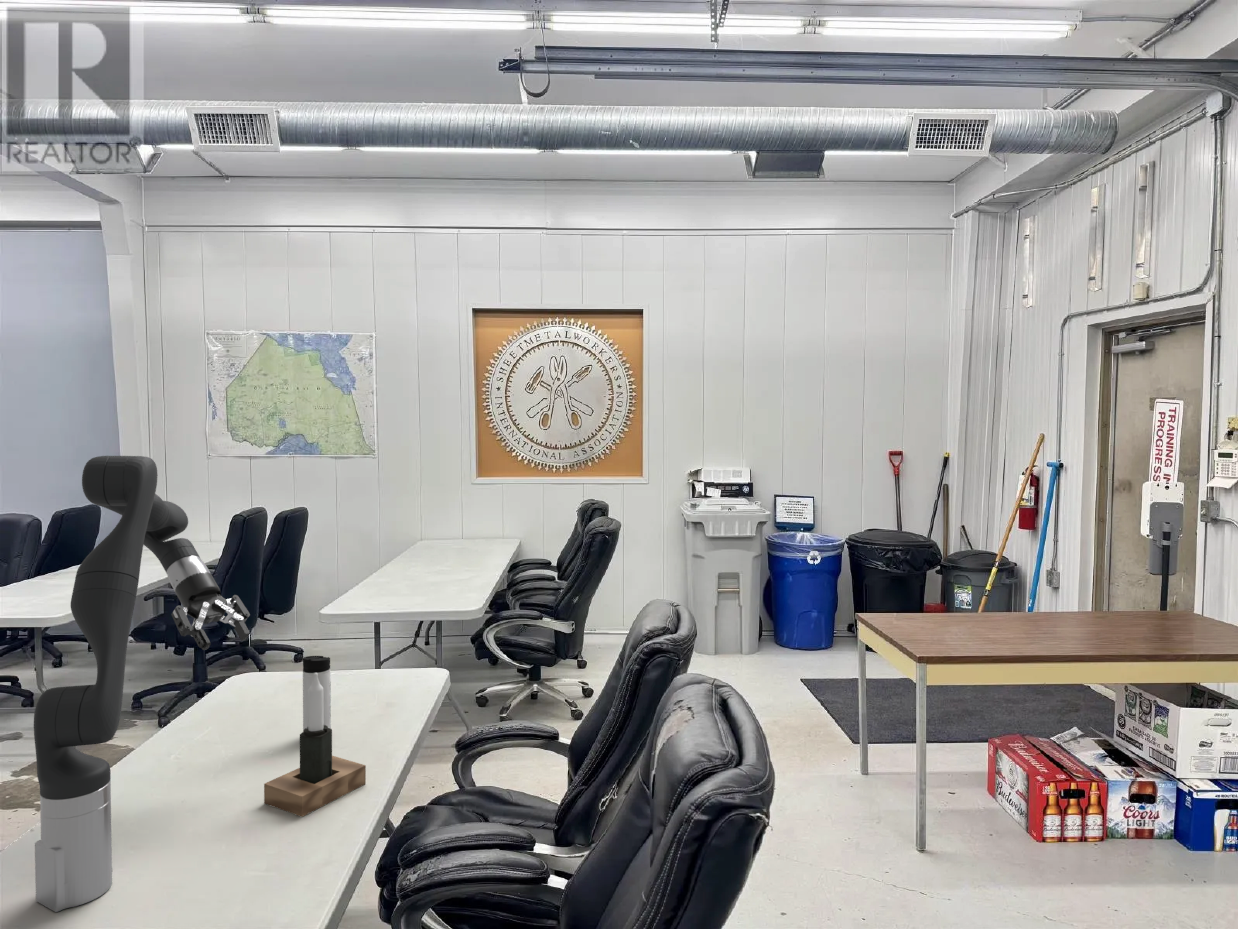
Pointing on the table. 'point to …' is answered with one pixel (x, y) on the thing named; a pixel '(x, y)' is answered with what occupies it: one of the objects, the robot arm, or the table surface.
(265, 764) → the table surface
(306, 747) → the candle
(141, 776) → the table surface
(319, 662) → the travel mug
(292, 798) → the socket block
